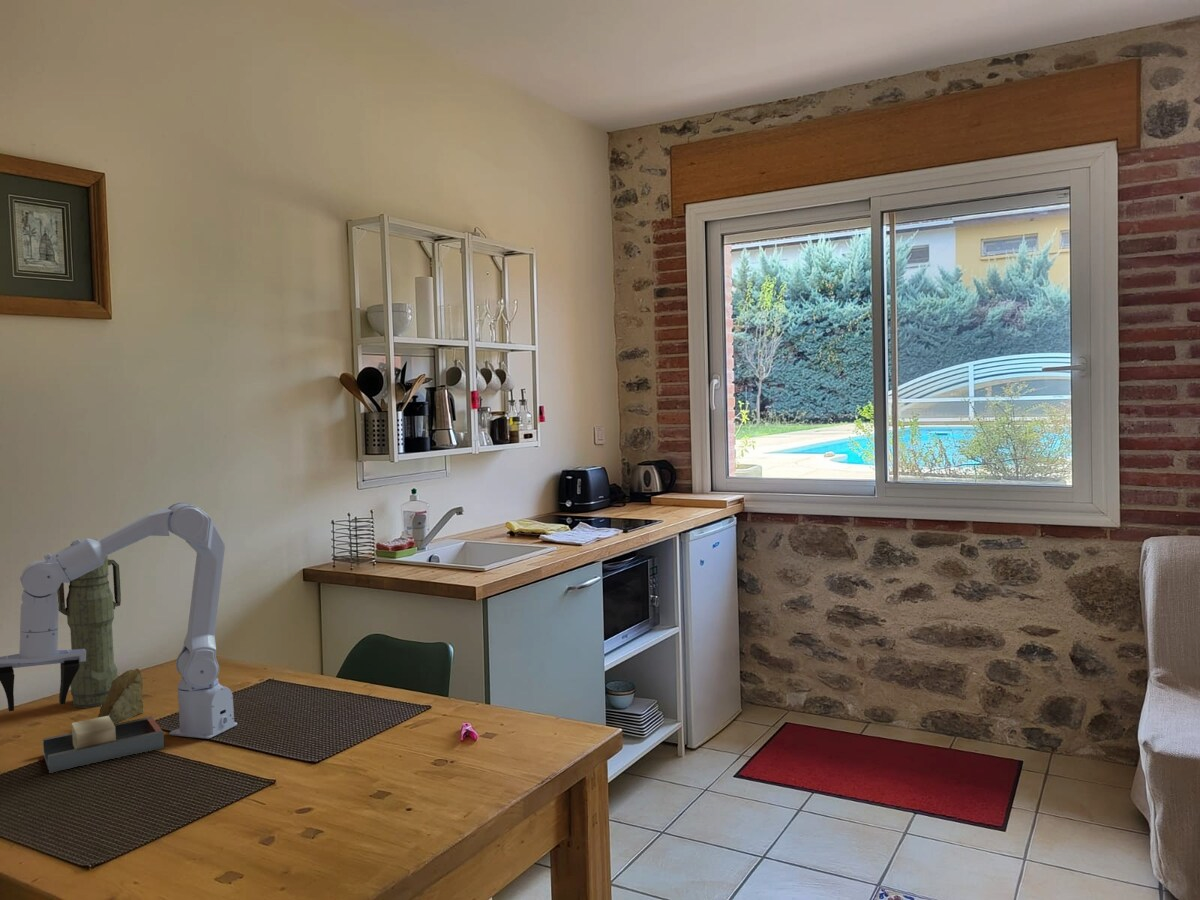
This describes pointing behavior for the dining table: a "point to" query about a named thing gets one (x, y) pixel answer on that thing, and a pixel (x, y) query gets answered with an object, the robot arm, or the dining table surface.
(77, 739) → the block
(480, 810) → the dining table surface
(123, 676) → the rock
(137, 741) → the chute
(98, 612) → the thermos
